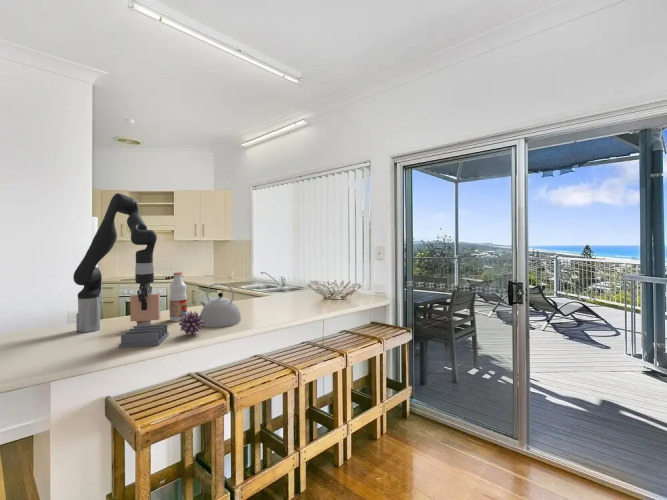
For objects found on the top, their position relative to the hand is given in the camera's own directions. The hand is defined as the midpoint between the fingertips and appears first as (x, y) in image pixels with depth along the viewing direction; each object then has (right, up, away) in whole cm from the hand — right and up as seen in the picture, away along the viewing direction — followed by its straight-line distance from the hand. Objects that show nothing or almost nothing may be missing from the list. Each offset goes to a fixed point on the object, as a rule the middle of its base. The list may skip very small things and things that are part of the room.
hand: (145, 309), depth 159 cm
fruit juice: (-4, -14, +43) cm, 46 cm away
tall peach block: (0, -5, 0) cm, 5 cm away
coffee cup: (-15, -14, +25) cm, 32 cm away
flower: (+17, -15, +11) cm, 25 cm away
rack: (0, -15, 0) cm, 15 cm away
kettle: (+22, -14, +38) cm, 46 cm away
